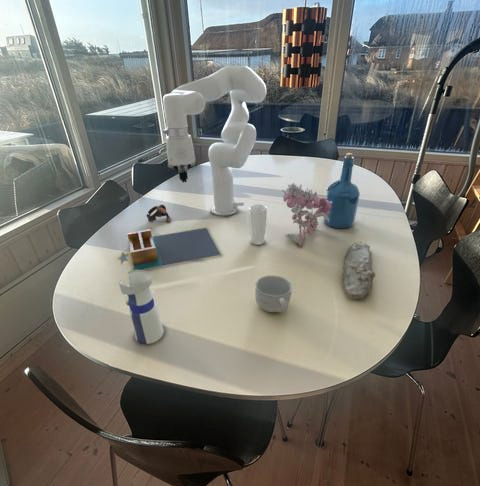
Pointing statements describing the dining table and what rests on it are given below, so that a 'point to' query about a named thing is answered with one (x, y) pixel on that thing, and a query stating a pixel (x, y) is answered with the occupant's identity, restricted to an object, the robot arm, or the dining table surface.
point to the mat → (181, 248)
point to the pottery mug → (158, 213)
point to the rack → (142, 247)
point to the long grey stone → (358, 271)
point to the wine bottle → (343, 197)
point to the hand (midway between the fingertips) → (183, 181)
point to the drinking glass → (257, 223)
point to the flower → (298, 197)
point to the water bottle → (142, 305)
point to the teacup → (273, 293)
